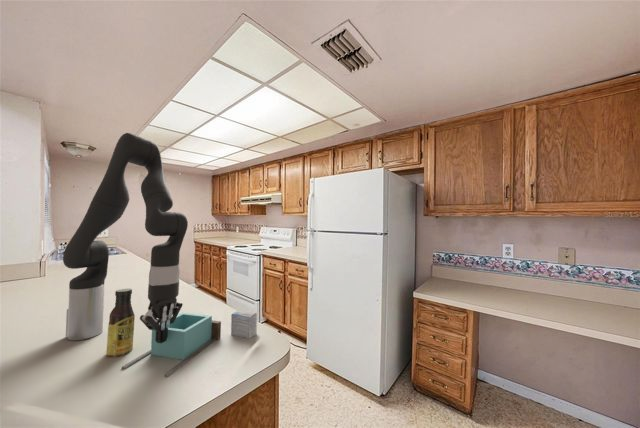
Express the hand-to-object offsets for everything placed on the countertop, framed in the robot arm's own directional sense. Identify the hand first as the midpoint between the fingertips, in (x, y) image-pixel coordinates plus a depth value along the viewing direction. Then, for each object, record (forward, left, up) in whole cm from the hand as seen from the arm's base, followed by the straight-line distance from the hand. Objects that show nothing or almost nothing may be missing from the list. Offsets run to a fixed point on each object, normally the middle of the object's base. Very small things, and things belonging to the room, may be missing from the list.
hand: (161, 342), depth 71 cm
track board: (0, +5, -7) cm, 9 cm away
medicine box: (+14, +21, -7) cm, 27 cm away
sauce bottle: (-16, +1, -7) cm, 17 cm away
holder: (0, +8, -5) cm, 10 cm away
